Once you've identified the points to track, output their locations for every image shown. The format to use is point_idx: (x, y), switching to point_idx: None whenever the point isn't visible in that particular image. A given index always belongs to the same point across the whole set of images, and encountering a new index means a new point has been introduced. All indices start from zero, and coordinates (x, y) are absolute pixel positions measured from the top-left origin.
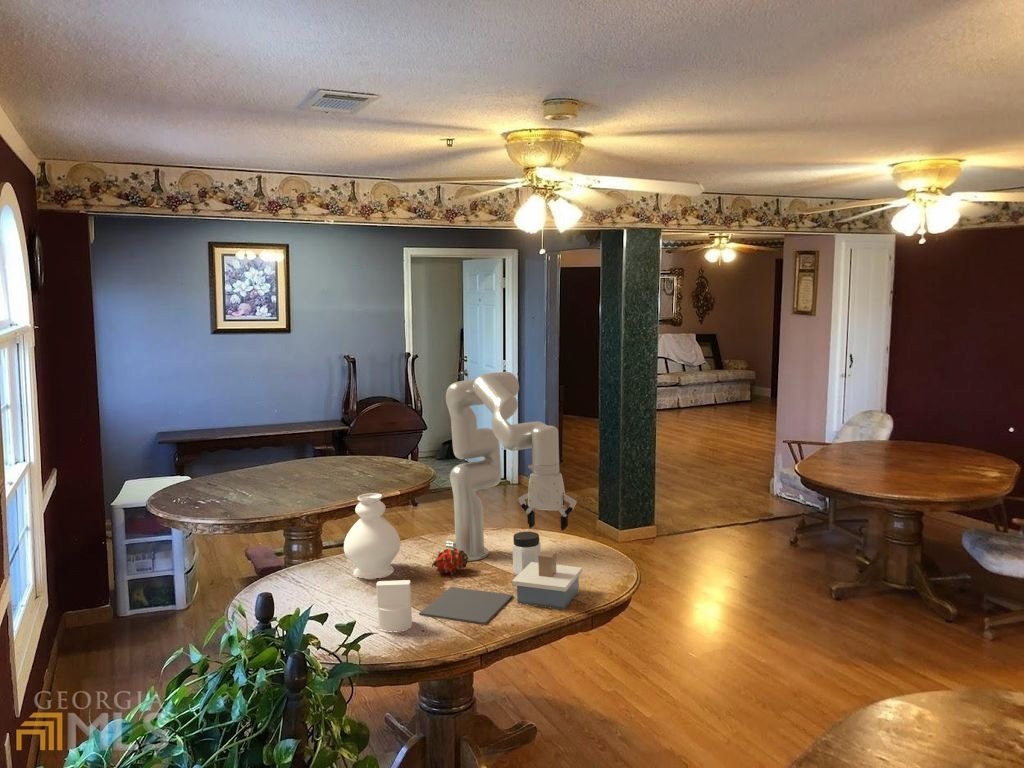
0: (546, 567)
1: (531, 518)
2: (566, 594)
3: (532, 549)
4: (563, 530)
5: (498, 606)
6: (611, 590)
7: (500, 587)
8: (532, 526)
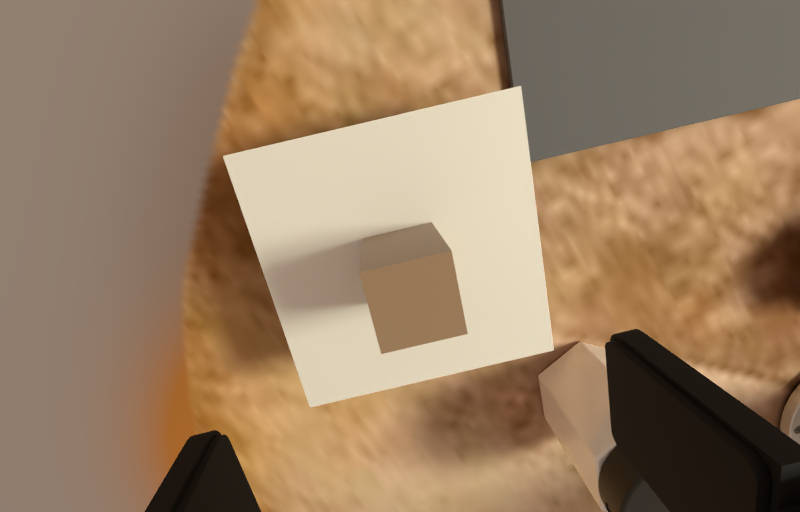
0: (392, 244)
1: (694, 428)
2: None
3: (602, 439)
4: (197, 437)
5: (516, 18)
6: (234, 398)
7: (609, 217)
8: (608, 371)
